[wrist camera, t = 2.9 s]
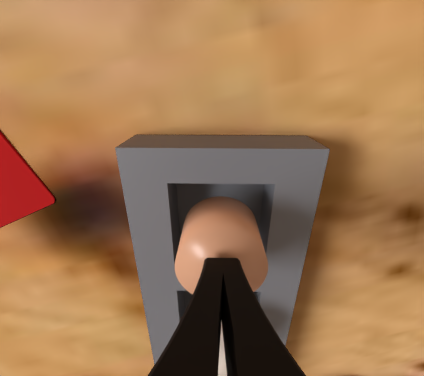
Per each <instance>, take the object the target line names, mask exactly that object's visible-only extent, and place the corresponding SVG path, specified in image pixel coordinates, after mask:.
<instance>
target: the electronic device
mask: <svg viewBox="0 0 424 376" xmlns="http://www.w3.org/2000/svg"><path fill="white" fill-rule="evenodd" d="M54 202H55V197H54V196H53V195H52V193H51V192H50V191H49V190H48V188H47V187H46V186H45V185H44V184H43V182H42V181H41V180H40V179H39V177H38V176H37V175H36V174H35V173H34V171H33V170H32V169H31V168H30V167H29V165H28V164H27V163H26V162H25V160H24V159H23V158H22V157H21V156H20V154H19V153H18V152H17V151H16V150H15V148H14V147H13V146H12V145H11V143H10V142H9V141H8V140H7V139H6V137H5V136H4V135H3V134H2V133H1V131H0V227H3V226H5V225H7V224H9V223H11V222H14V221H16V220H18V219H20V218H22V217H25V216H27V215H29V214H31V213H34V212H36V211H38V210H40V209H42V208H45V207H47V206H49V205H51V204H53V203H54Z"/></svg>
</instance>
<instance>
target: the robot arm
mask: <svg viewBox="0 0 424 376" xmlns="http://www.w3.org/2000/svg"><path fill="white" fill-rule="evenodd" d="M221 320H222V330H223V340H224V350H225V360H226V370H227V376H306V375H305V374H304V372H303V371H302V370H301V368H300V367H299V366H298V364H297V363H296V361H295V360H294V358H293V357H292V356H291V354H290V353H289V351H288V350H287V348H286V347H285V345H284V344H283V342H282V341H281V339H280V338H279V336H278V334H277V333H276V331H275V330H274V328H273V326H272V325H271V323H270V321H269V320H268V318H267V316H266V315H265V313H264V311H263V309H262V308H261V306H260V304H259V302H258V300H257V298H256V296H255V295H254V293H253V291H252V289H251V287H250V284H249V282H248V280H247V278H246V276H245V273H244V271H243V268H242V266H241V263H240V260H239V259H238V258H206V259H205V260H204V264H203V268H202V272H201V275H200V278H199V280H198V283H197V286H196V288H195V290H194V293H193V295H192V297H191V300H190V302H189V304H188V306H187V308H186V310H185V312H184V314H183V316H182V318H181V320H180V322H179V324H178V326H177V328H176V330H175V331H174V333H173V335H172V337H171V339H170V340H169V342H168V344H167V346H166V347H165V349H164V351H163V352H162V354H161V356H160V357H159V359H158V361H157V362H156V364H155V365H154V367H153V368H152V370H151V371H150V373H149V375H148V376H218V365H219V350H220V335H221Z"/></svg>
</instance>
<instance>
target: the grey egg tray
mask: <svg viewBox="0 0 424 376" xmlns="http://www.w3.org/2000/svg"><path fill="white" fill-rule="evenodd" d="M115 149H116V155H117V160H118V166H119V171H120V177H121V182H122V188H123V193H124V199H125V204H126V210H127V215H128V221H129V226H130V232H131V237H132V243H133V249H134V254H135V260H136V265H137V271H138V276H139V282H140V287H141V293H142V298H143V304H144V309H145V315H146V320H147V326H148V331H149V337H150V342H151V348H152V353H153V359H154V364H156V362H157V361H158V359H159V357H160V356H161V354H162V352H163V351H164V349H165V347H166V346H167V344H168V342H169V340H170V339H171V337H172V335H173V333H174V331H175V330H176V328H177V326H178V324H179V322H180V320H181V318H182V316H183V314H184V312H185V310H186V308H187V306H188V304H189V302H190V300H191V297H192V295H193V294H191V293H190V292H188V291H187V290H186V289H185V288H184V287H183V286H182V285H181V284H180V282H179V281H178V279H177V276H176V273H175V260H176V255H177V251H178V247H179V242H180V238H181V234H182V229H183V225H184V221H185V218H186V215H187V214H188V212H189V211H190V209H191V208H192V207H193V206H194V205H196V204H197V203H198V202H200V201H202V200H204V199H207V198H210V197H216V196H224V197H230V198H234V199H237V200H239V201H241V202H242V203H244V204H245V205H246V206H248V207H249V209H250V210H251V211H252V213H253V214H254V216H255V219H256V222H257V226H258V229H259V233H260V236H261V240H262V243H263V246H264V250H265V253H266V257H267V260H268V273H267V276H266V278H265V280H264V282H263V284H262V285H261V286H260V287H259V288H258V289H257V290H256V291H255V292H253V293H254V295H255V296H256V298H257V300H258V302H259V304H260V306H261V308H262V309H263V311H264V313H265V315H266V316H267V318H268V320H269V321H270V323H271V325H272V326H273V328H274V330H275V331H276V333H277V334H278V336H279V338H280V339H281V341H282V342H283V344H284V345H286V341H287V336H288V332H289V328H290V323H291V319H292V314H293V310H294V305H295V301H296V297H297V292H298V288H299V283H300V279H301V275H302V270H303V266H304V261H305V257H306V252H307V248H308V244H309V239H310V235H311V230H312V226H313V222H314V217H315V213H316V208H317V204H318V199H319V195H320V191H321V186H322V182H323V177H324V173H325V169H326V164H327V160H328V155H329V151H330V149H329V148H327V147H325V146H324V145H322V144H320V143H318V142H317V141H315V140H313V139H311V138H310V137H308V136H281V135H135V136H133V137H131V138H130V139H128V140H127V141H125V142H124V143H122V144H120V145H119V146H117V147H116V148H115Z"/></svg>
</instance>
